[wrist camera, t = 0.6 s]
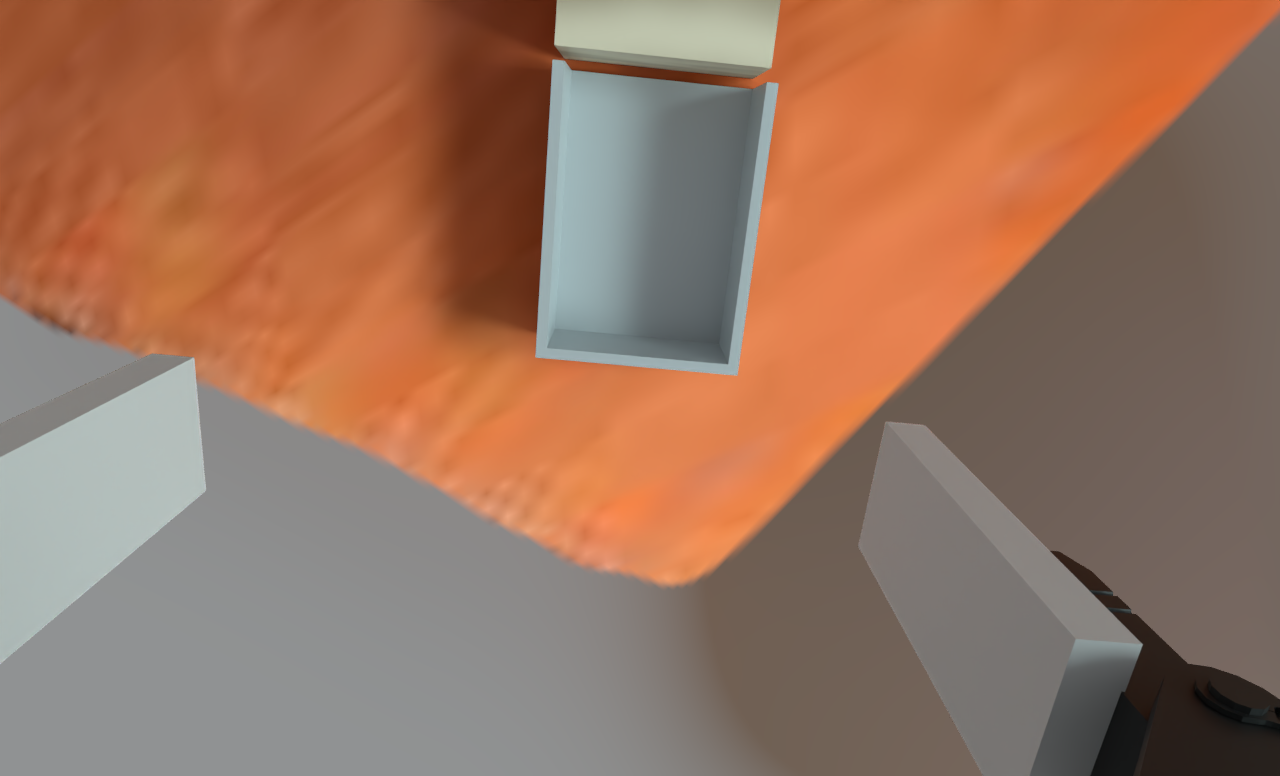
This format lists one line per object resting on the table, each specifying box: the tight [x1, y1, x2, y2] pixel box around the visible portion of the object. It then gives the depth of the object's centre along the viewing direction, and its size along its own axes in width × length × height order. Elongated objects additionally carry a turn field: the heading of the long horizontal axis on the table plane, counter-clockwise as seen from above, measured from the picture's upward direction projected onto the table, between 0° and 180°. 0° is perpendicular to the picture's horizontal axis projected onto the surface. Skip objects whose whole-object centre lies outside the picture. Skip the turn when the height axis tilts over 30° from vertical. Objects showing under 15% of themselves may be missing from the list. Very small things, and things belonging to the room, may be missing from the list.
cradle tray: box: [536, 60, 779, 375], centre depth 36 cm, size 13×10×4 cm
